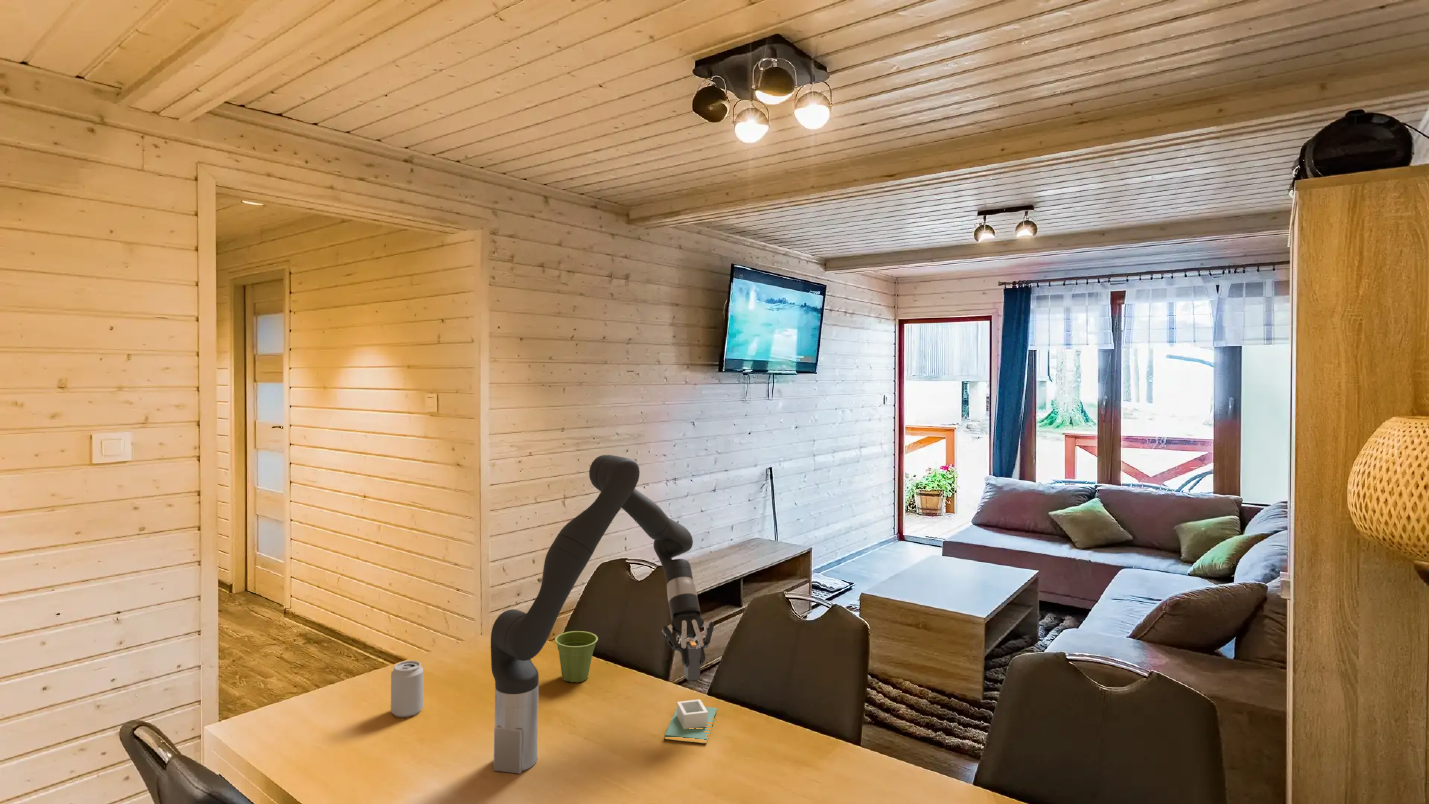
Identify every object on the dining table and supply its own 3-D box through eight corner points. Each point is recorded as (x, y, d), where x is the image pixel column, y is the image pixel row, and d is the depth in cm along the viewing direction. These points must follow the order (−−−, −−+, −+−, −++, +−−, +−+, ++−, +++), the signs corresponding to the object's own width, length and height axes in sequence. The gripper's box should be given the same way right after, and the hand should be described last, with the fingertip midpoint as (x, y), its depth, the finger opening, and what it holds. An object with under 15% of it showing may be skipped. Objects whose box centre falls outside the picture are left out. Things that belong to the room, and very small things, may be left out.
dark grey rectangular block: (699, 679, 177) (701, 645, 176) (687, 680, 176) (689, 646, 175) (695, 671, 181) (696, 638, 180) (683, 673, 180) (684, 640, 179)
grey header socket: (707, 726, 177) (708, 712, 176) (683, 729, 175) (684, 715, 175) (699, 712, 183) (700, 699, 183) (676, 715, 182) (677, 701, 181)
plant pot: (574, 691, 196) (574, 650, 196) (545, 678, 204) (545, 639, 203) (605, 676, 206) (606, 637, 205) (577, 665, 213) (577, 627, 212)
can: (428, 706, 186) (429, 659, 185) (413, 720, 178) (414, 671, 178) (400, 703, 186) (401, 657, 186) (384, 717, 179) (384, 669, 178)
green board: (706, 744, 171) (706, 739, 170) (664, 739, 172) (664, 734, 172) (716, 712, 186) (717, 708, 186) (678, 708, 188) (678, 704, 188)
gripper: (658, 594, 182) (669, 661, 171) (712, 590, 187) (725, 655, 176) (653, 608, 188) (663, 674, 177) (706, 603, 192) (718, 668, 181)
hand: (694, 664), depth 176 cm, fingers closed on dark grey rectangular block, 3 cm apart
